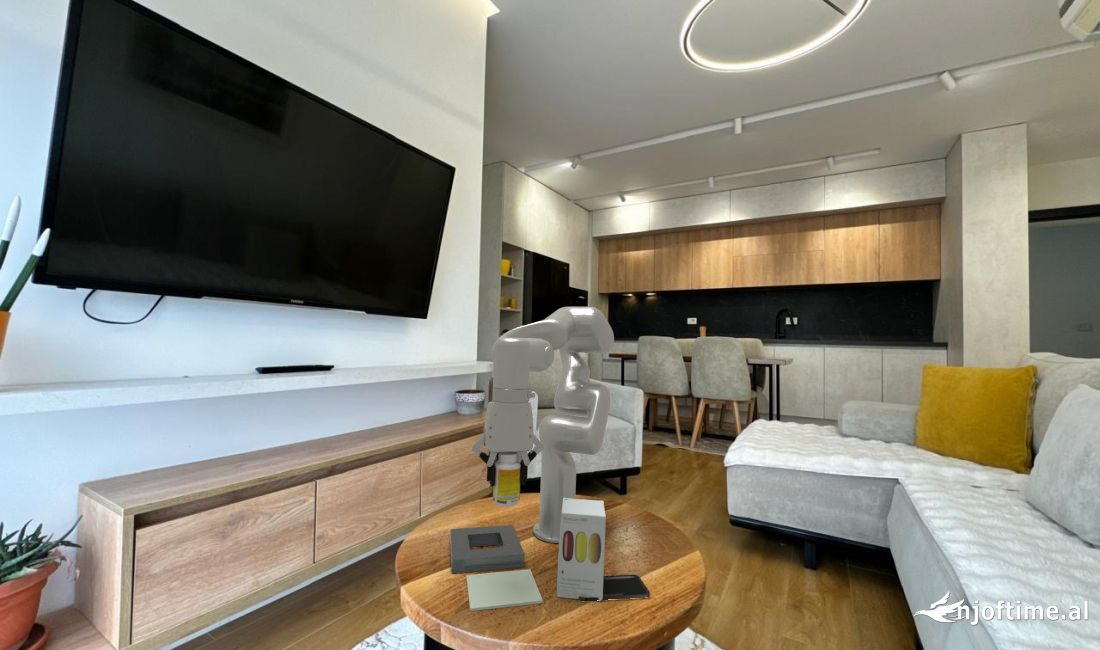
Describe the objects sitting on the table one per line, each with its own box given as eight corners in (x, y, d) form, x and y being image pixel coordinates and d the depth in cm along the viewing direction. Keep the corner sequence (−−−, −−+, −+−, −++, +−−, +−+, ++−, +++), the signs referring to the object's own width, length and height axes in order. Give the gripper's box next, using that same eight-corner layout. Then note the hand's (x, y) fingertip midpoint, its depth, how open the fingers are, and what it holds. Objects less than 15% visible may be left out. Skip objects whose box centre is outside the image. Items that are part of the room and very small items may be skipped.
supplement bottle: (524, 504, 89) (526, 454, 90) (502, 509, 86) (504, 457, 86) (509, 496, 93) (511, 448, 94) (487, 501, 90) (489, 451, 90)
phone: (571, 577, 93) (638, 574, 95) (571, 582, 93) (637, 579, 95) (579, 598, 85) (651, 594, 87) (579, 604, 85) (651, 600, 87)
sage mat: (530, 571, 96) (530, 569, 96) (542, 603, 84) (542, 600, 84) (466, 577, 93) (466, 575, 93) (470, 611, 81) (470, 608, 81)
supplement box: (556, 598, 86) (559, 512, 87) (558, 574, 95) (561, 496, 96) (604, 602, 86) (606, 515, 86) (601, 577, 95) (604, 499, 96)
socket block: (512, 536, 113) (512, 524, 113) (524, 567, 98) (524, 553, 98) (449, 541, 109) (450, 529, 109) (451, 574, 94) (452, 559, 94)
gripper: (545, 394, 96) (542, 477, 95) (467, 394, 92) (463, 479, 91) (554, 399, 89) (551, 488, 88) (470, 398, 85) (465, 491, 84)
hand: (506, 483), depth 90 cm, fingers closed on supplement bottle, 5 cm apart
